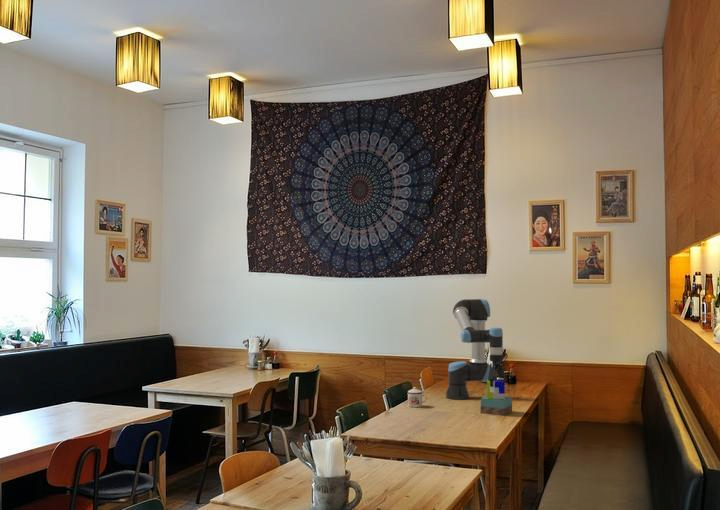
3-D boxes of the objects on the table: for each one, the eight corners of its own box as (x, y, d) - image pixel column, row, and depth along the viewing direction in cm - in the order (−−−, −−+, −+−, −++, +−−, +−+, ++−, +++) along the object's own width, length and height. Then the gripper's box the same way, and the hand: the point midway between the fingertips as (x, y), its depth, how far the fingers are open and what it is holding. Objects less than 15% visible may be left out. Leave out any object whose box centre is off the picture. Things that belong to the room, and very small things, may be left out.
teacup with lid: (406, 407, 404) (405, 387, 405) (409, 404, 413) (409, 385, 413) (425, 408, 401) (425, 388, 401) (428, 405, 409) (428, 386, 410)
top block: (480, 406, 386) (480, 398, 386) (489, 402, 398) (489, 394, 398) (503, 408, 379) (503, 400, 379) (512, 404, 390) (512, 397, 391)
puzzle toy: (504, 399, 382) (504, 382, 383) (487, 398, 384) (486, 381, 385) (504, 396, 392) (504, 379, 392) (487, 395, 394) (487, 379, 395)
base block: (480, 414, 386) (480, 406, 386) (489, 409, 398) (489, 402, 398) (503, 416, 378) (503, 408, 379) (512, 412, 390) (512, 404, 390)
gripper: (494, 356, 377) (494, 394, 376) (509, 352, 398) (509, 388, 397) (482, 356, 381) (482, 393, 380) (497, 351, 402) (497, 387, 401)
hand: (496, 390), depth 388 cm, fingers open, 13 cm apart
